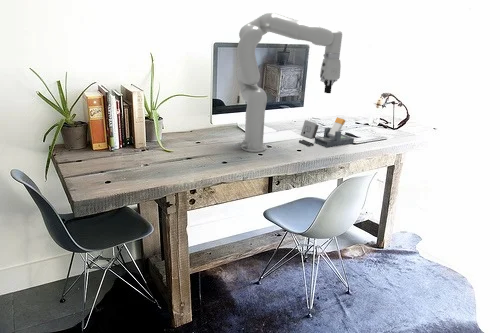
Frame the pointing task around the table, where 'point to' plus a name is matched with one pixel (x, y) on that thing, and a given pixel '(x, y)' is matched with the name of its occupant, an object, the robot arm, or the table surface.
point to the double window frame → (332, 142)
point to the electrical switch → (309, 129)
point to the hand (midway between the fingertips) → (327, 92)
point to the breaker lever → (336, 127)
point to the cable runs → (306, 143)
